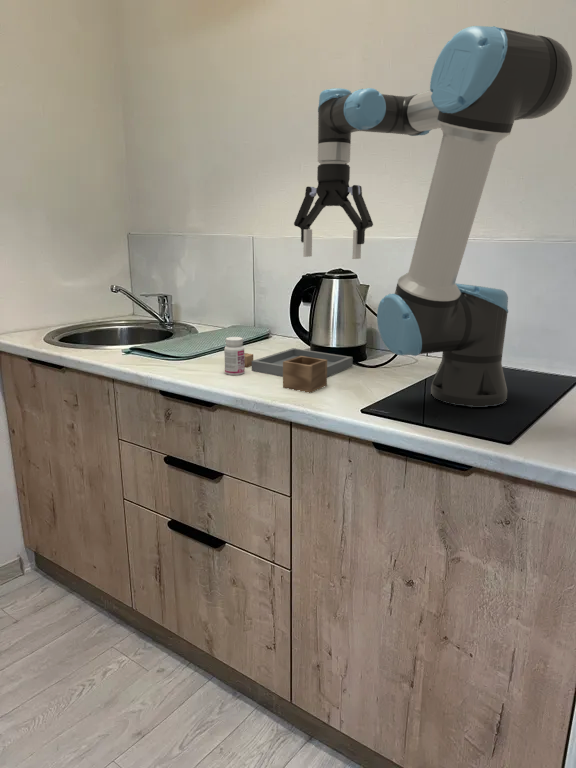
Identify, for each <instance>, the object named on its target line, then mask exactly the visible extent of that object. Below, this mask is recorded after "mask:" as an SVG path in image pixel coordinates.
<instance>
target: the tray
mask: <svg viewBox="0 0 576 768" xmlns="http://www.w3.org/2000/svg"><path fill="white" fill-rule="evenodd" d="M298 356H306V357H312V358H318V359H325V360H327V378H328V377H331V376H333V375H335V374H338V373H341V372H343V371H345V370H347V369H350V368H352V367H353V363H354V362H353V361H354V359H353V356H347V355H342V354H335V353H328V352H322V351H314V350H307V349H301V348H294V347H293V348H292V347H291V348H289V349H286V350H285V349H284V350H283V351H279V352H276V353H273V354H270V355H267V356H264V357H260V358H257V359H253V361H252V366H251V371H252V372H257V373H262V374H268V375H274V376H279V377H283V362H284V361H287V360H290V359H292V358H295V357H298Z"/></svg>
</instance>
